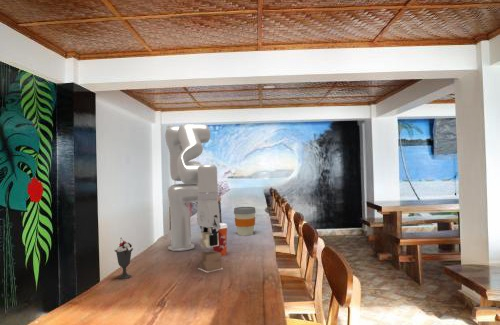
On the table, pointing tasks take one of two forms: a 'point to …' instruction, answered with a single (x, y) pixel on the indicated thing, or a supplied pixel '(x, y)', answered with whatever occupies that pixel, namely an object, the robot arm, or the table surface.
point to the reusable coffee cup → (245, 220)
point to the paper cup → (222, 239)
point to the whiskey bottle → (219, 208)
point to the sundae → (124, 257)
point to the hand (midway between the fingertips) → (209, 243)
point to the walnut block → (210, 260)
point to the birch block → (206, 239)
